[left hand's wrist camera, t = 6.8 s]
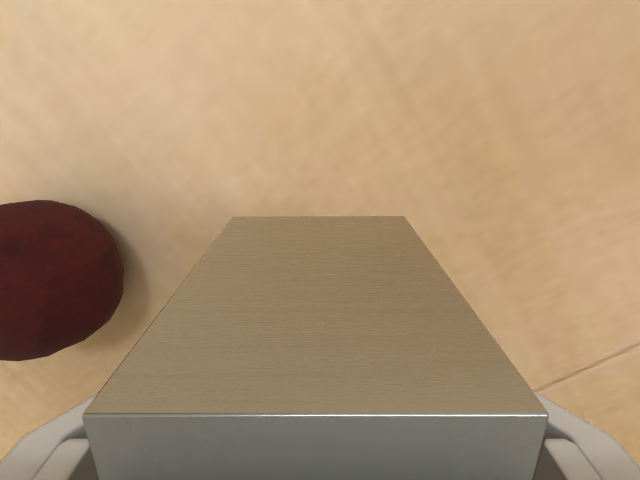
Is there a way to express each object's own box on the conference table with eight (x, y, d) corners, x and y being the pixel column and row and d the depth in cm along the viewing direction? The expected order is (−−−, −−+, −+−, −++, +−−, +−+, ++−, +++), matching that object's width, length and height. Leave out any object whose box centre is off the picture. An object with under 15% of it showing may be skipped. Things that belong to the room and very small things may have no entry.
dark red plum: (0, 277, 22) (-139, 354, 15) (33, 159, 19) (-114, 189, 13) (121, 329, 23) (42, 421, 16) (167, 224, 21) (95, 282, 14)
